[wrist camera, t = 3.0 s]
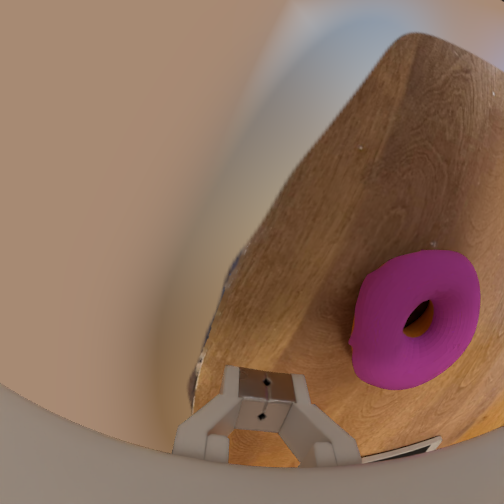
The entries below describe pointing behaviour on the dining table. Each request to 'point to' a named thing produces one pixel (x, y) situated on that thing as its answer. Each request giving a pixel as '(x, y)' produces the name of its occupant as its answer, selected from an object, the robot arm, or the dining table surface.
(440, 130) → the dining table surface
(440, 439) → the smartphone
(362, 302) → the donut
